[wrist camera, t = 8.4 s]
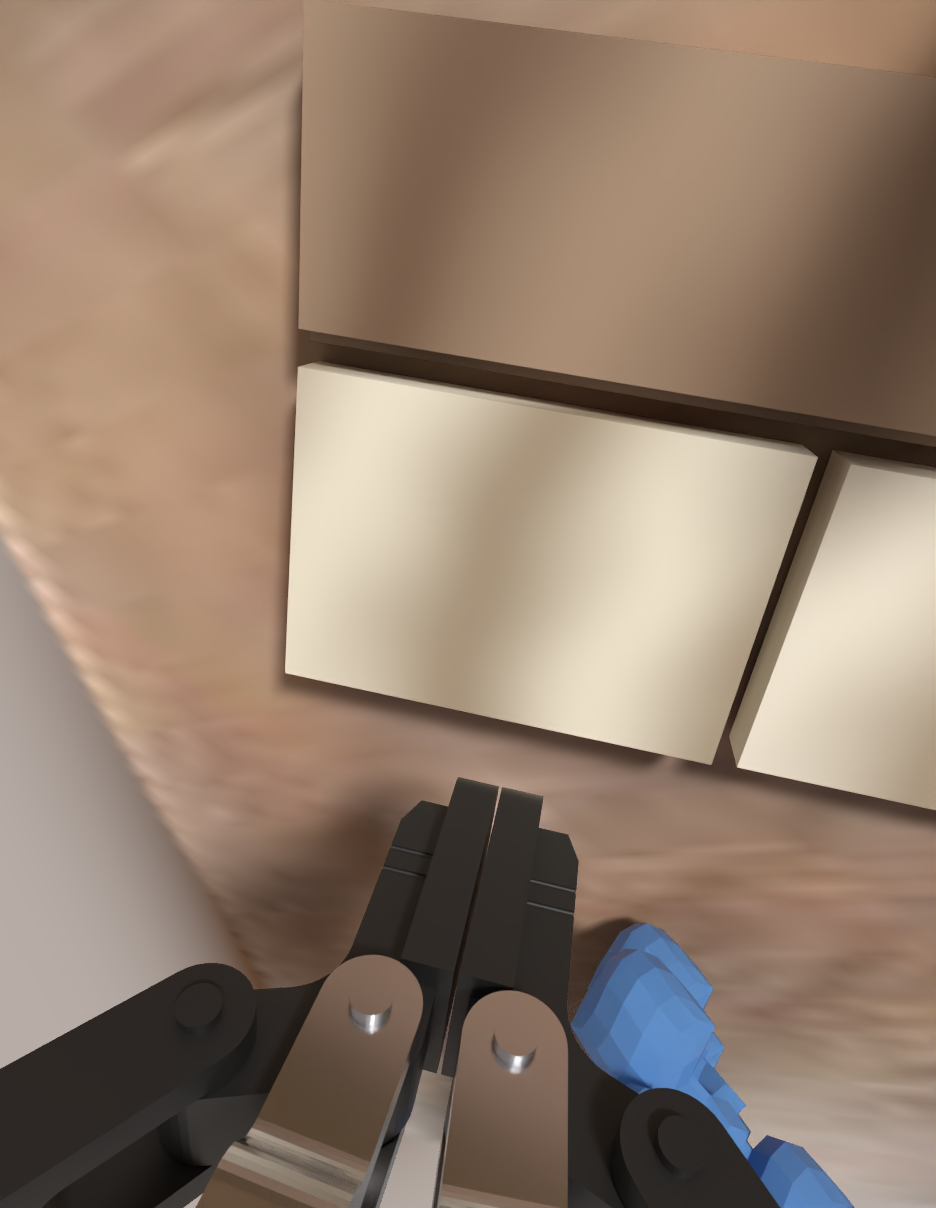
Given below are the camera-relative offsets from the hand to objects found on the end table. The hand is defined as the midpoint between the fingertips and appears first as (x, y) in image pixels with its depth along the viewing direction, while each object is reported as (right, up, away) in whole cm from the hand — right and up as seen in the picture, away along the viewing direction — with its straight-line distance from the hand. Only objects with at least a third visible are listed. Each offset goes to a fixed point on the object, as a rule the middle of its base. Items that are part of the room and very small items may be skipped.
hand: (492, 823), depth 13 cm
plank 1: (+1, +5, +4) cm, 6 cm away
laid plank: (+7, +10, 0) cm, 12 cm away
